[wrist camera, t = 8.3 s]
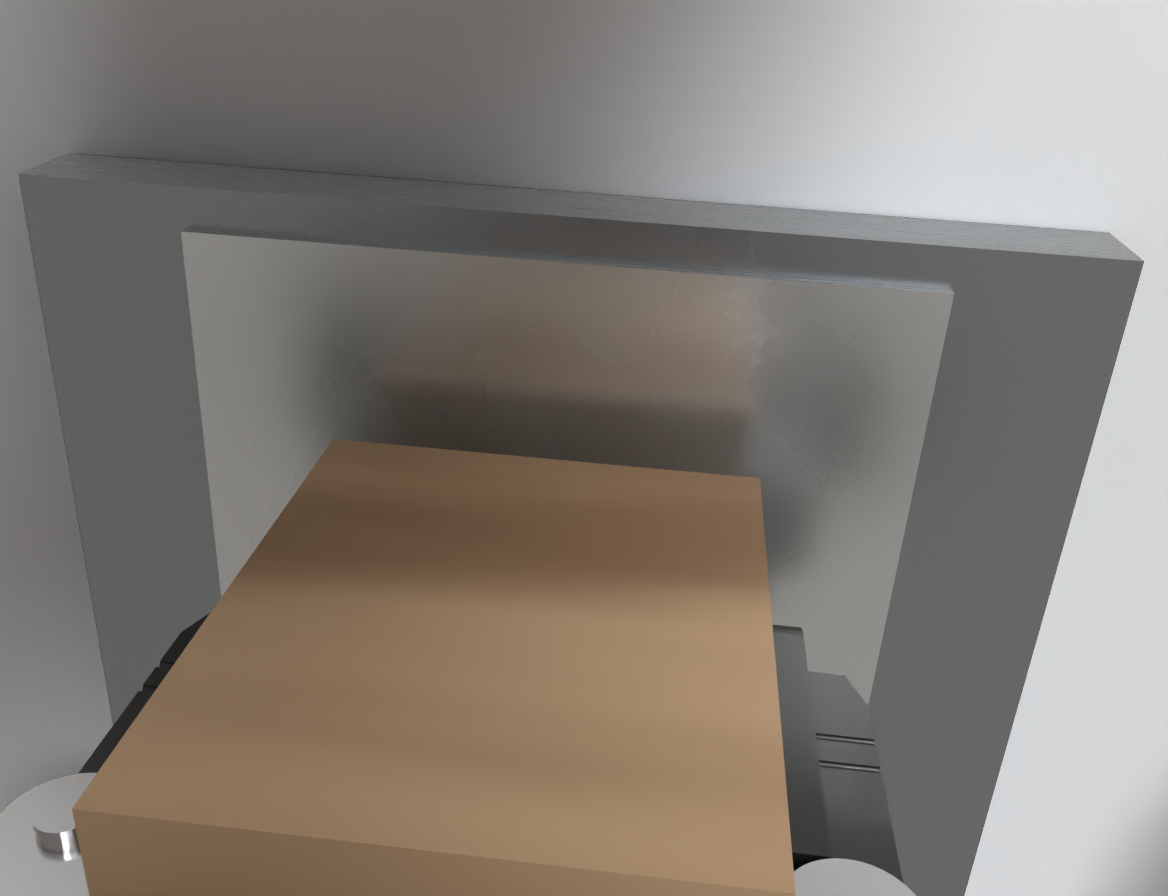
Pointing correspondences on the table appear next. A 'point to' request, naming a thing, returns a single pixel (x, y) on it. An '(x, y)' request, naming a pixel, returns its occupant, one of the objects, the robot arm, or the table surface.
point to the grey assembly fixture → (600, 404)
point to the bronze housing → (467, 695)
